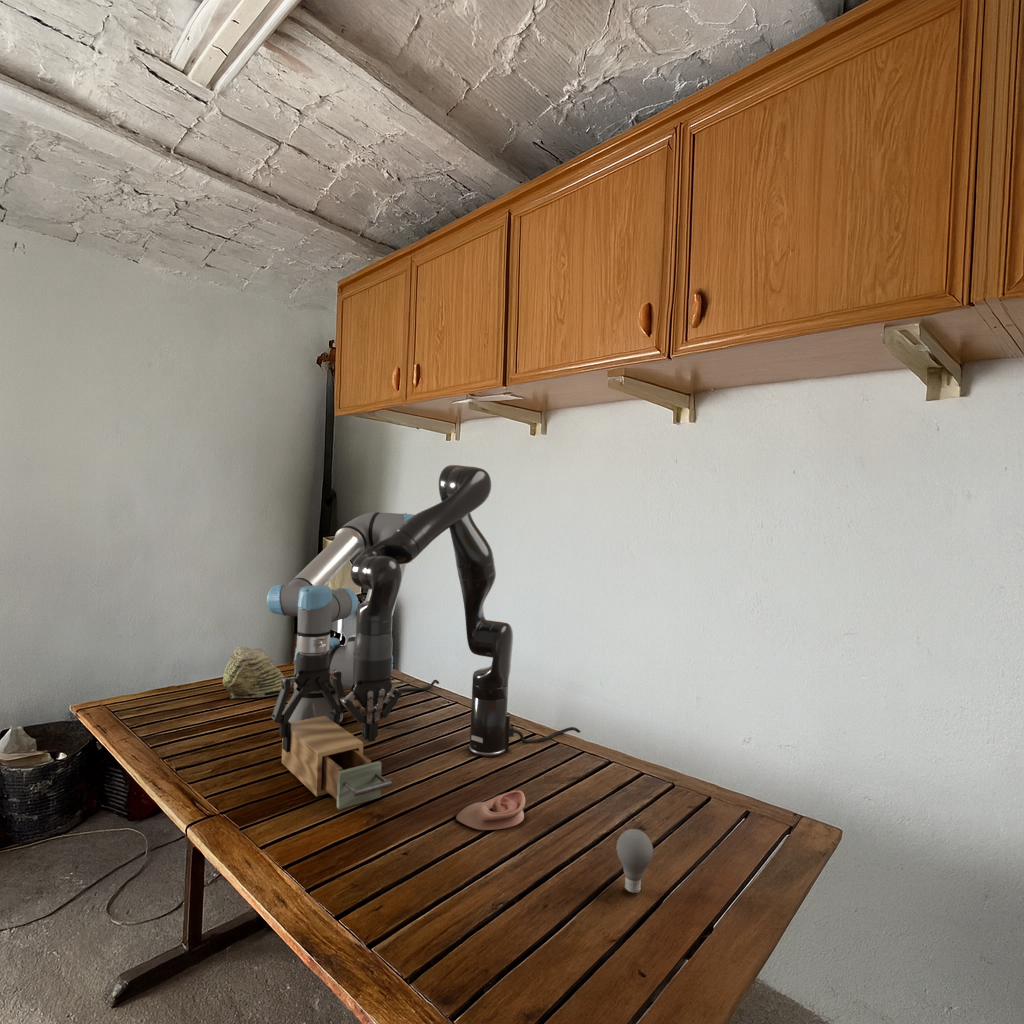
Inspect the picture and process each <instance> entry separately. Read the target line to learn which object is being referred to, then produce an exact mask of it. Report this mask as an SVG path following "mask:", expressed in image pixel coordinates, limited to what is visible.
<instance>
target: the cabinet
mask: <svg viewBox="0 0 1024 1024" xmlns="http://www.w3.org/2000/svg"><path fill="white" fill-rule="evenodd" d="M290 723H291V737H290V752H286V751H285V750H284V749H283V738H282V737H281V738H282V740H281V741H282V742H281V765H283V766H284V767H285V768H286V769H287V770H288V771H289V772H290V773H291V774H292V775H294V777H296V778H297V780H298V781H300V783H302V784H303V785H304V786H305V788H307V789H308V790H309V791H310V792H311V793H312V794H313V795H314V796H315V797H316V798H318V797H320V796H325V795H328V794H329V793H328V792H327V791H326V790H325V789H324V788H323V787H322V786H321V781H322V757H323V756H327V755H331V754H336V753H340V752H344V751H348V750H352V749H356V750H357V751H359V752H360V753H362V754H363V755H364V742H363V741H362V740H361V739H359V738H357V737H356V736H355V735H353V734H352V733H350V732H349V731H347V730H346V729H345V728H344V727H342V726H340V725H338V724H336V723H335V722H333V721H332V720H330V719H329V718H328V717H326V716H321V717H316V718H311V719H305V720H300V721H295V722H290Z"/></svg>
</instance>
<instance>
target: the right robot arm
mask: <svg viewBox="0 0 1024 1024" xmlns="http://www.w3.org/2000/svg"><path fill="white" fill-rule="evenodd" d="M491 492H492V479H491V476H490V474H489V473H488V471H486V470H485V469H484V468H480V467H478V466H469V465H458V464H449V465H447V466H445V467H444V468H443V469H442V470H441V472H440V474H439V478H438V493H439V497H440V501H441V502H439V503H436V504H434V505H433V506H430V507H428V508H425V509H424V510H421V511H419V512H417V513H416V514H413V515H414V516H412V517H411V518H409V519H408V520H407V521H405V522H404V523H403V524H402V525H401V526H400V527H399V528H398V529H397V530H396V531H394V532H393V533H392V534H391V535H390V536H389V537H388V538H386V539H384V540H382V541H380V542H378V543H377V544H375V545H373V546H372V547H370V548H368V549H367V550H365V551H363V552H362V553H361V554H360V555H358V556H356V558H355V559H354V561H353V563H352V564H351V566H350V567H351V568H350V579H351V580H352V582H353V584H355V585H356V586H358V587H359V588H362V589H366V590H369V589H372V592H371V596H370V599H369V601H366V602H365V601H363V602H361V603H360V604H358V607H357V610H356V618H355V620H356V621H355V622H356V623H355V633H356V636H355V642H354V651H353V654H354V662H353V685H352V687H351V691H350V692H349V693H348V694H347V695H345V697H341V698H340V702H341V703H342V705H343V706H344V707H345V708H346V710H347V712H348V713H349V715H350V716H351V717H352V718H353V719H354V720H355V721H356V722H358V723H361V738H363V739H364V741H366V742H367V743H371V742H375V741H376V740H377V739H376V738H378V736H379V722H380V720H382V719H383V718H384V719H385V718H387V717H389V715H390V712H392V710H393V708H394V707H395V706H396V704H397V703H398V701H399V699H400V698H401V696H402V692H401V691H399V690H397V689H398V688H395V687H394V686H393V682H392V680H391V678H392V672H393V669H392V664H393V663H392V656H393V646H394V645H393V633H392V632H393V616H392V612H393V609H394V610H395V608H394V606H395V607H396V605H395V603H396V604H397V601H396V599H397V600H398V597H397V596H399V594H398V592H399V593H400V590H399V589H401V586H402V582H403V579H402V571H401V567H400V565H399V564H406V563H408V564H410V563H412V562H413V561H414V560H415V559H416V558H417V557H419V555H420V554H422V553H423V551H424V550H425V549H426V548H427V547H428V546H429V545H430V544H431V543H432V542H433V541H435V540H436V539H437V538H438V537H439V536H440V535H441V534H442V533H444V532H445V531H446V530H449V533H450V537H451V543H452V547H453V551H454V557H455V564H456V570H457V577H458V579H459V584H460V589H461V595H462V602H463V609H464V618H465V631H466V639H467V645H468V649H469V650H470V652H471V653H472V654H473V655H477V656H480V657H484V658H492V661H491V665H490V666H486V667H482V668H478V669H476V670H475V671H473V673H472V685H471V708H470V709H471V710H470V731H469V733H470V734H469V745H468V750H469V751H470V753H472V754H473V755H476V756H479V757H487V758H490V757H491V758H493V757H498V756H502V755H503V754H505V753H509V752H510V751H509V750H510V749H509V748H510V738H512V737H514V734H517V735H518V736H519V738H520V741H521V742H522V743H524V744H536V743H540V742H544V741H549V740H550V739H551V740H552V738H554V737H556V736H558V735H563V734H564V733H567V732H570V731H573V732H576V733H578V734H580V733H581V730H580V729H579V728H577V727H576V726H575V727H574V726H570V727H566V728H562V729H559V730H557V731H555V732H552V734H549V735H547V736H543V737H538V738H535V739H525V738H524V734H523V733H522V732H521V731H520V730H518V729H515V728H514V726H512V725H511V715H510V713H508V702H509V700H508V699H509V697H508V696H509V682H510V681H509V680H510V674H511V668H512V654H513V646H514V632H513V631H514V630H513V628H512V625H511V624H510V623H508V622H504V621H498V620H490V619H486V617H485V613H484V612H485V611H484V605H485V601H486V599H487V597H488V595H489V594H490V592H491V590H492V588H493V586H494V584H495V581H496V579H497V572H496V565H495V557H494V553H493V549H492V548H491V545H490V544H489V542H488V540H487V538H486V537H485V536H484V534H483V533H482V531H481V530H480V529H479V527H478V525H477V524H476V522H475V521H474V519H473V516H472V513H473V511H475V510H476V509H478V508H480V507H481V506H482V505H483V504H484V503H485V502H486V501H487V499H488V498H489V497H490V494H491ZM411 561H412V562H411ZM409 562H410V563H409ZM406 565H407V564H406ZM401 581H402V582H401ZM400 585H401V586H400ZM393 613H394V612H393ZM356 701H357V702H358V705H360V708H359V709H357V708H356V707H355V706H356Z"/></svg>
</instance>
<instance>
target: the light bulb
mask: <svg viewBox="0 0 1024 1024" xmlns="http://www.w3.org/2000/svg"><path fill="white" fill-rule="evenodd" d="M615 849H616V854H617V857H618V859H619V861H620V863H621V865H622V867H623V873H624V874H623V875H624V876H625V878H624V888H625V890H627V891H628V892H630V893H634V894H635V893H639V892H640V891H641V889H642V887H641V886H642V879H643V877H644V875H645V871H646V868H647V867H648V866H649V864H650V863H651V861H652V859H653V855H654V847H653V843H652V841H651V838H649V836H648V835H647V834H646V833H645V832H643V831H642V830H641V829H636V828H629V829H627V830H625V831H623V832H622V833H621V834H620V835H619V837H618V839H617V841H616V847H615Z"/></svg>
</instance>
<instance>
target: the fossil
mask: <svg viewBox="0 0 1024 1024" xmlns="http://www.w3.org/2000/svg"><path fill="white" fill-rule="evenodd" d="M222 676H223V677H222V685H223V687H224V688H225V690H226V691H228V693H229V698H230V699H250V698H264V697H271V696H275V695H279V693H280V690H281V687H282V684H281V680H282V678H283V677H285V676H284V674H283V673H282V672H281V669H279V668H278V667H277V665H276V663H275V662H274V660H273V659H272V658H271V657H270V656H269V655H268V654H267V653H266V652H265V650H264V649H263V648H260V647H258V648H251V647H247V646H246V647H245V646H238V647H237V648H236V649H235V650H233V651H232V653H231V656H230V657H229V659H228V660H227V663H226V666H225V668H224V671H223V675H222Z"/></svg>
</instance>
